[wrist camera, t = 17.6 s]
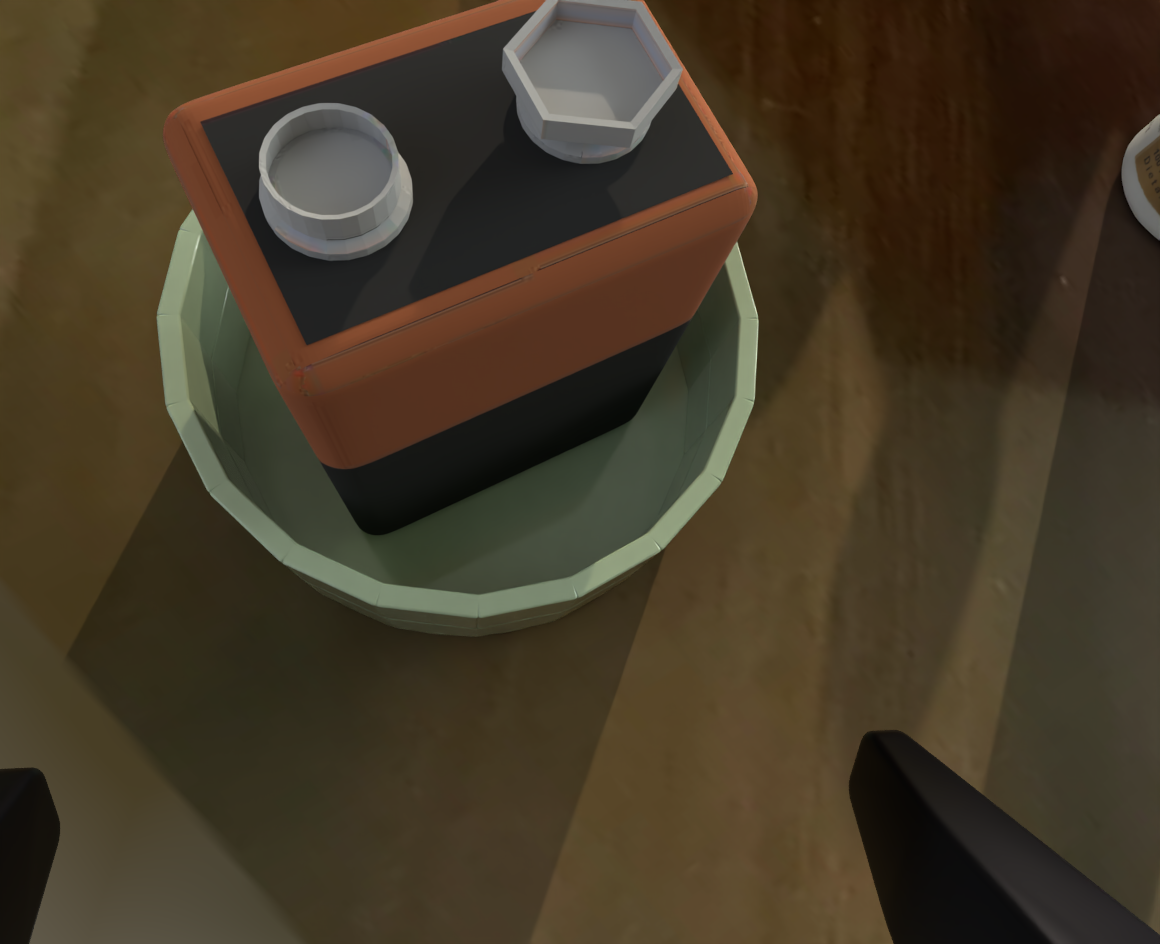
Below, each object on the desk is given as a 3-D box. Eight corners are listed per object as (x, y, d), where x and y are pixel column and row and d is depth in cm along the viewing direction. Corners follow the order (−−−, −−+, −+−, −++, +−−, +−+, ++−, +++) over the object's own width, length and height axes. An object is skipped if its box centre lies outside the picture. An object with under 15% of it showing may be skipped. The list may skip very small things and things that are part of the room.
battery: (644, 420, 20) (807, 155, 10) (368, 549, 18) (263, 376, 9) (557, 263, 21) (637, -116, 11) (286, 374, 19) (109, 42, 10)
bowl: (477, 744, 18) (481, 755, 14) (120, 402, 19) (20, 313, 15) (785, 398, 21) (867, 318, 17) (464, 118, 22) (464, -26, 18)
